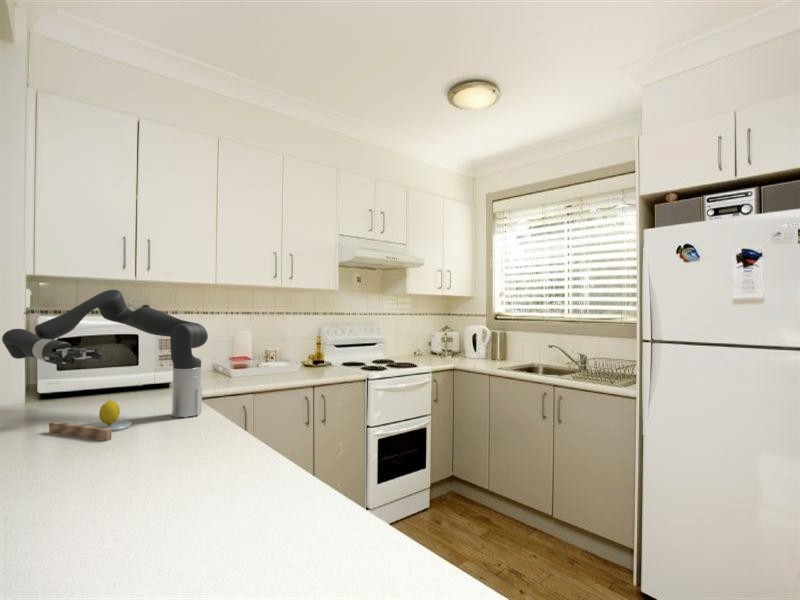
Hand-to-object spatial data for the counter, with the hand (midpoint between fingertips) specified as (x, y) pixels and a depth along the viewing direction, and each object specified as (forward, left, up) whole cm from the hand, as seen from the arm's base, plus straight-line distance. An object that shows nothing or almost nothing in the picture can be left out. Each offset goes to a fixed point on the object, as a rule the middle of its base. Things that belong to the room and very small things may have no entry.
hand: (88, 358), depth 146 cm
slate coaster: (-8, +4, -22) cm, 24 cm away
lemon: (-8, +4, -21) cm, 23 cm away
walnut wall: (-4, +13, -22) cm, 26 cm away
